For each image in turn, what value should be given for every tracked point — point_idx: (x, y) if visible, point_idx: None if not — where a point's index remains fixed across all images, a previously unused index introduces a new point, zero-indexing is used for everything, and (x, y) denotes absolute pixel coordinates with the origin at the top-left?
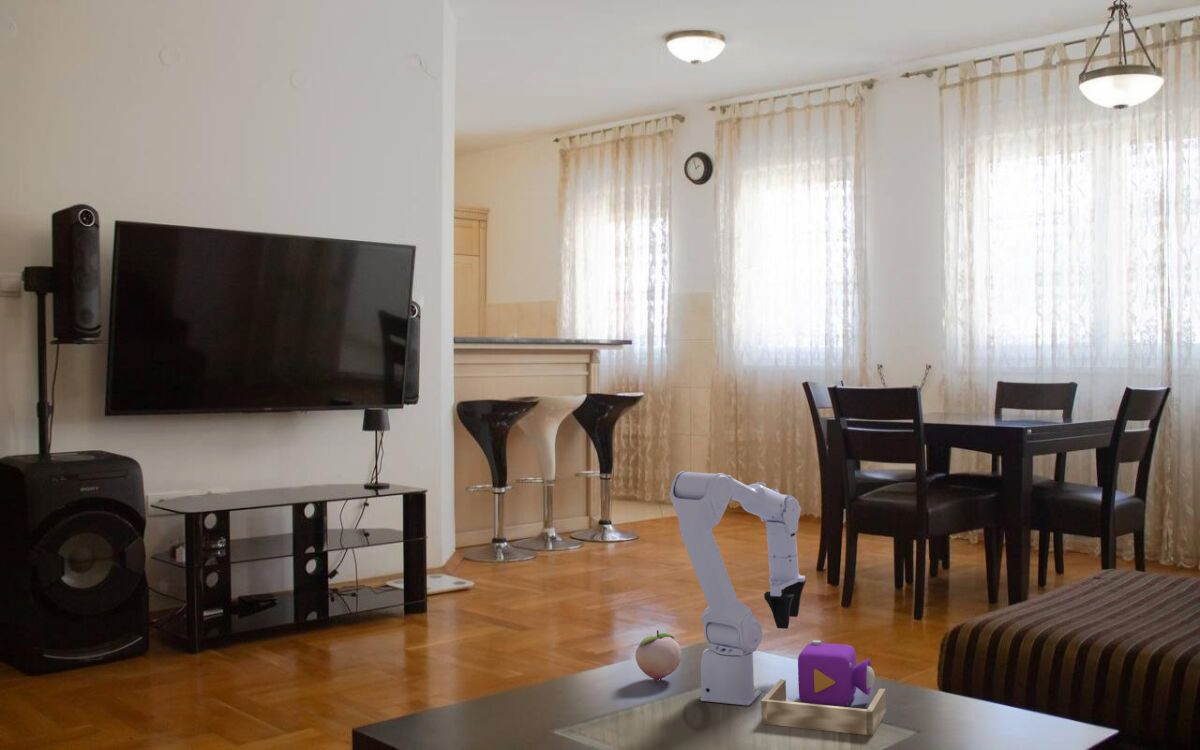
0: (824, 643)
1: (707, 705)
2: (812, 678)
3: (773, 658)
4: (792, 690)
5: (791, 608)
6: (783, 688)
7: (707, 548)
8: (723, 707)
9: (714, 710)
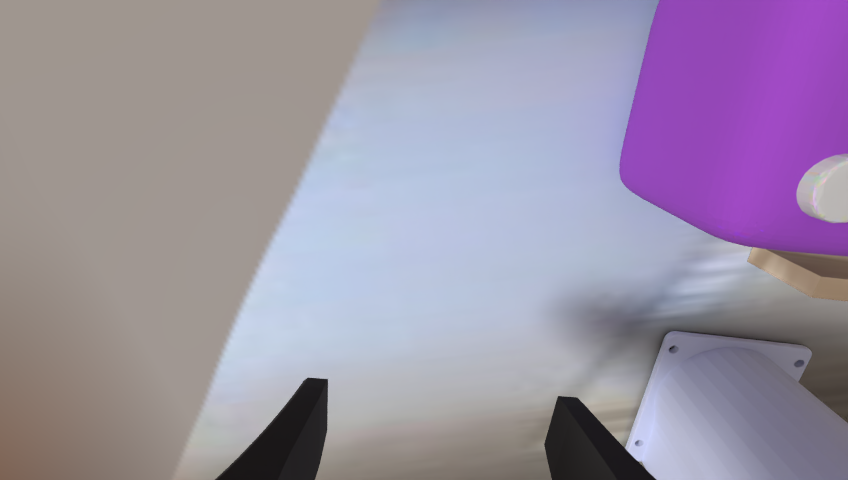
0: (824, 133)
1: None
2: None
3: (257, 340)
4: (618, 239)
5: (312, 452)
6: (835, 270)
7: None
8: None
9: None
